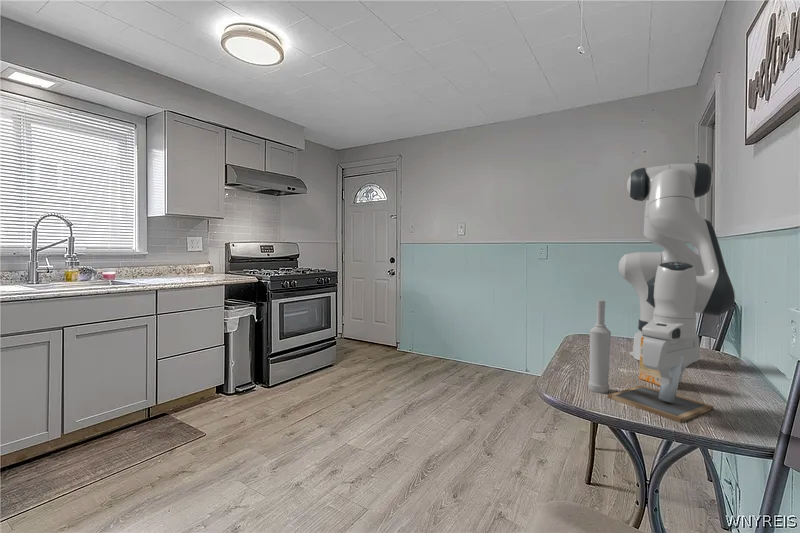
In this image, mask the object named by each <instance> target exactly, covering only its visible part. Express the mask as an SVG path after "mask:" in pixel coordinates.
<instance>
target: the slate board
mask: <svg viewBox="0 0 800 533" xmlns="http://www.w3.org/2000/svg"><path fill="white" fill-rule="evenodd" d="M659 391H660V389H656V388H653V387H649V386H647V385H646V386H645V385H642V384H640V385H638V386H633V387H631V388H627V389H623V390H619V391H616V392H613V393H609V394H607V399H611V400H613V401H617V402H619V403H622V404H626V405H628V406H631V407H634V408H637V409H639V410H643V411H646V412H648V413H651V414H655V415H658V416H660V417H664V418H666V419H669V420H672V421H675V422H677V423H682V422H685V421H687V420H690V419H691V418H695V417H697V416H700V415H702V414H705V413H706V412H710V411H712V410H713V409H714V405H711V404H708V403H705V402H701V401H699V400H694V399H691V398H687V397H684V396H681V395H678V394H676V397H675V402H674V403H670V402H666V401H663V400H661V399H659V398H658V396H659ZM711 409H712V410H711Z"/></svg>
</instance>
